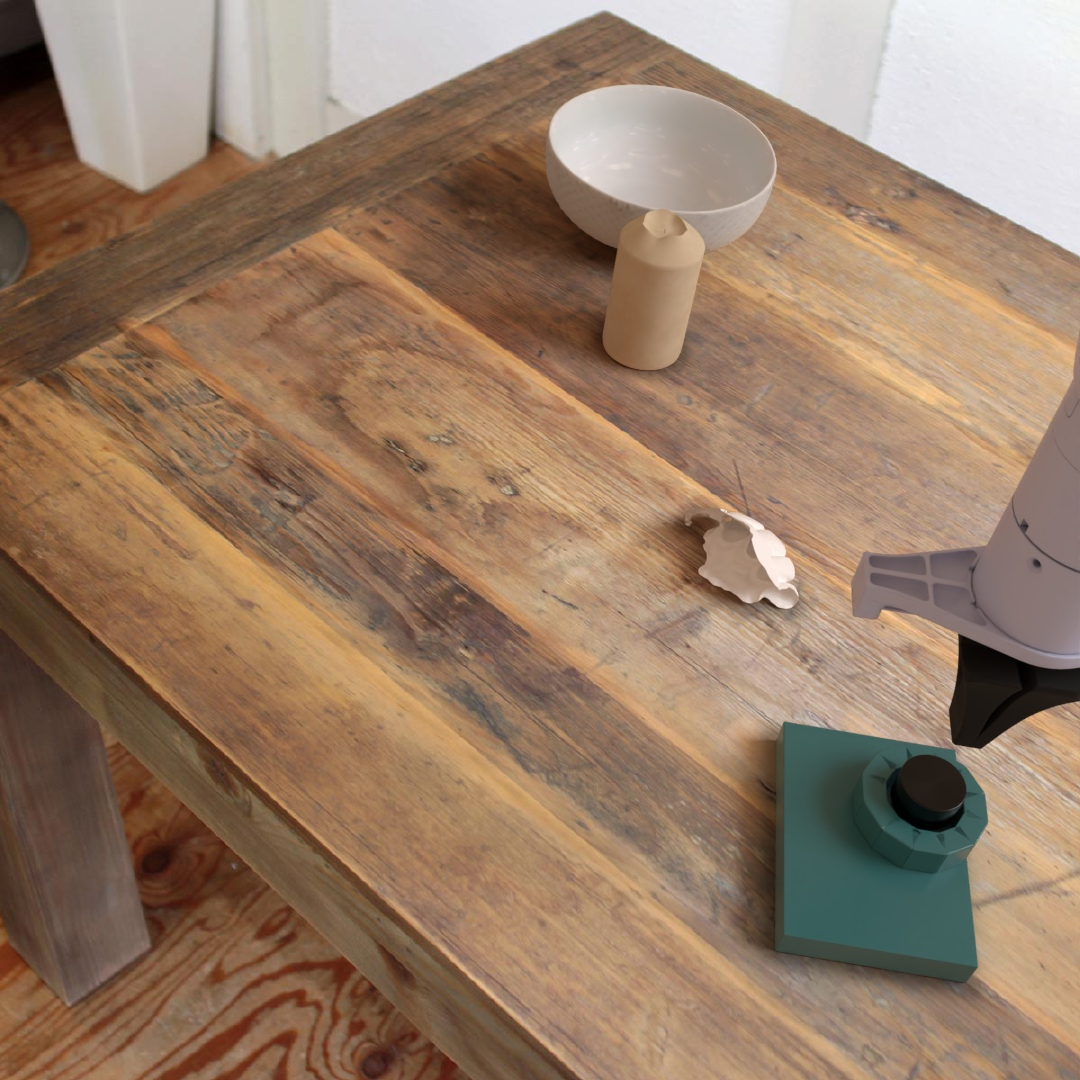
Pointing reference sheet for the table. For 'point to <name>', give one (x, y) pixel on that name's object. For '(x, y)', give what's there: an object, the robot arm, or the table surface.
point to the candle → (652, 290)
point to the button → (928, 792)
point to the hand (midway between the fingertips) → (965, 728)
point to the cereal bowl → (657, 162)
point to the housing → (869, 858)
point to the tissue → (746, 559)
